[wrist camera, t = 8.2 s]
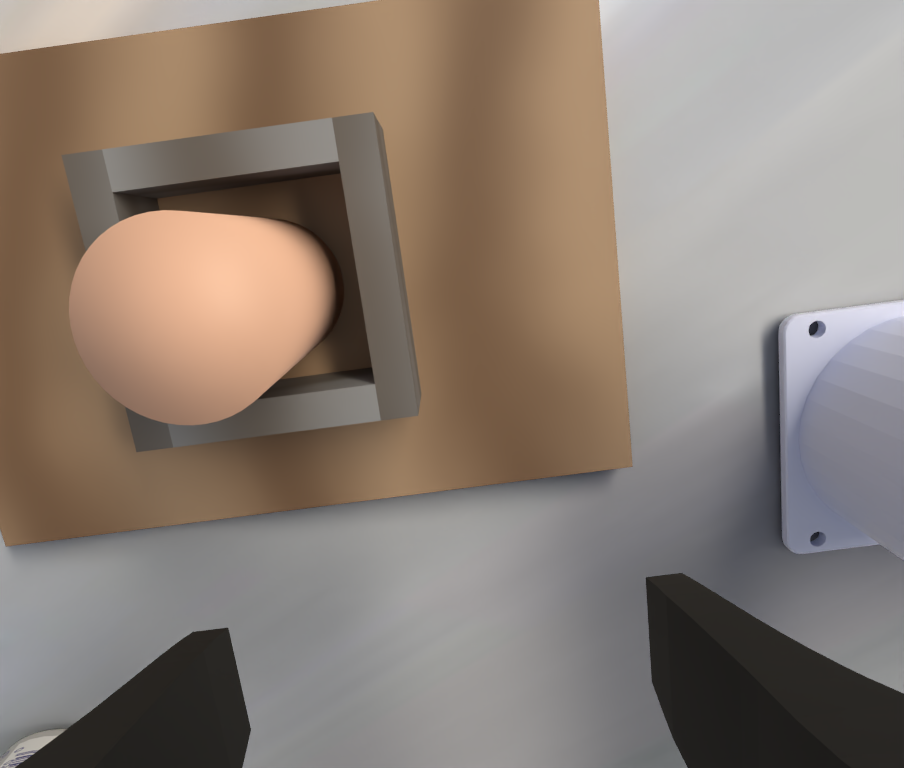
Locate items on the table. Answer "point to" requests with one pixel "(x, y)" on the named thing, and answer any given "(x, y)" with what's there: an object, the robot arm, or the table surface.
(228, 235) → the peg
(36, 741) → the energy drink
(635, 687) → the table surface
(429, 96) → the socket base
